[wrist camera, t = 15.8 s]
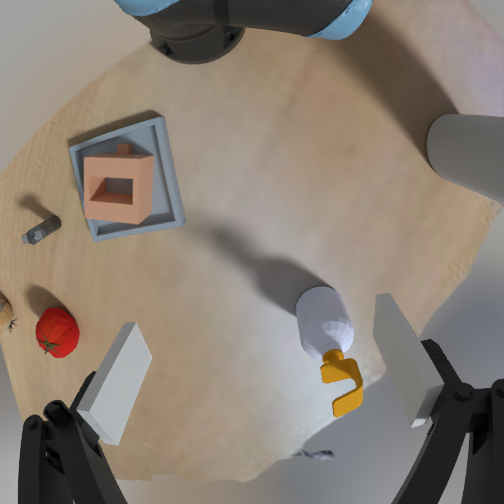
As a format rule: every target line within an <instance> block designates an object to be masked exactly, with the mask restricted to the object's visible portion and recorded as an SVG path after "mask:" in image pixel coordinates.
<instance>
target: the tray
mask: <svg viewBox="0 0 504 504" xmlns="http://www.w3.org/2000/svg"><path fill="white" fill-rule="evenodd" d="M120 143H133V152H132V154H146V155H154V167H153V186H152V213H151V214H150V215H149V216H148V217H147V218H145V219H144V220H143V221H142V222H141V223H140V224H139V225H138V224H130V223H122V222H113V221H105V220H96V219H88V218H86V219H87V222H88V225H89V228H90V232H91V235H92V238H93V241H94V242H97V241H102V240H107V239H113V238H118V237H123V236H129V235H134V234H140V233H145V232H151V231H157V230H162V229H168V228H174V227H180V226H183V225H184V224H185V222H186V218H185V214H184V210H183V205H182V201H181V197H180V192H179V187H178V183H177V178H176V173H175V169H174V164H173V159H172V154H171V149H170V144H169V138H168V133H167V128H166V122H165V117H157V118H154V119H150V120H147V121H143V122H140V123H137V124H134V125H130V126H127V127H124V128H121V129H118V130H115V131H112V132H109V133H106V134H103V135H101V136H98V137H95V138H92V139H90V140H87V141H85V142H82V143H79V144H77V145H74V146H72V147H69V149H70V154H71V159H72V164H73V168H74V173H75V177H76V181H77V185H78V189H79V193H80V197H81V201H82V204H83V208H84V212H85V204H84V157H88V156H92V155H96V154H100V153H117V144H120ZM106 192H109V193H121V194H133V179H128V178H112V177H106Z"/></svg>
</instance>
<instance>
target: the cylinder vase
mask: <svg viewBox="0 0 504 504" xmlns="http://www.w3.org/2000/svg"><path fill="white" fill-rule="evenodd" d="M427 154H428V158H429V161H430V164H431V166H432V167H433V169H434V170H435V172H436V173H437V174H438V175H439V176H440V177H442V178H443V179H445V180H447V181H450V182H452V183H455V184H457V185H460V186H462V187H465V188H467V189H470V190H472V191H474V192H477V193H479V194H481V195H483V196H486V197H488V198H490V199H492V200H494V201H497V202H499V203H501V204H503V205H504V117H495V116H482V115H463V114H446V115H443V116H441V117H439V118H438V119H436V120H435V121H434V123H433V124H432V126H431V127H430V130H429V132H428V136H427Z"/></svg>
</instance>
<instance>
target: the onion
mask: <svg viewBox="0 0 504 504" xmlns="http://www.w3.org/2000/svg"><path fill="white" fill-rule="evenodd" d="M17 319H18V318H17ZM15 320H16V319H15ZM15 320H13V321H15ZM13 321H12V308H11V306H10V304H9V303H8V302H7V301H6V300H4V299H0V332H3V331H5V330H6V329H7V328H8V327H10V329H11V327H12V325H11V324H13V323H12V322H13ZM14 325H15V324H14ZM8 329H9V328H8ZM12 329H13V328H12ZM10 333H11V331H10Z"/></svg>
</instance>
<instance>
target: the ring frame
mask: <svg viewBox="0 0 504 504" xmlns="http://www.w3.org/2000/svg"><path fill="white" fill-rule="evenodd" d="M132 152H133V143H120V144H117V153H100V154H96V155H92V156H88V157H84V204H85V218H88V219H96V220H105V221H113V222H122V223H130V224H138V225H139V224H140V223H141V222H142V221H143V220H144V219H145V218H147V217H148V216H149V215H150V214H151V213H152V186H153V167H154V155H146V154H132ZM106 177H112V178H128V179H133V194H121V193H109V192H106Z"/></svg>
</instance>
